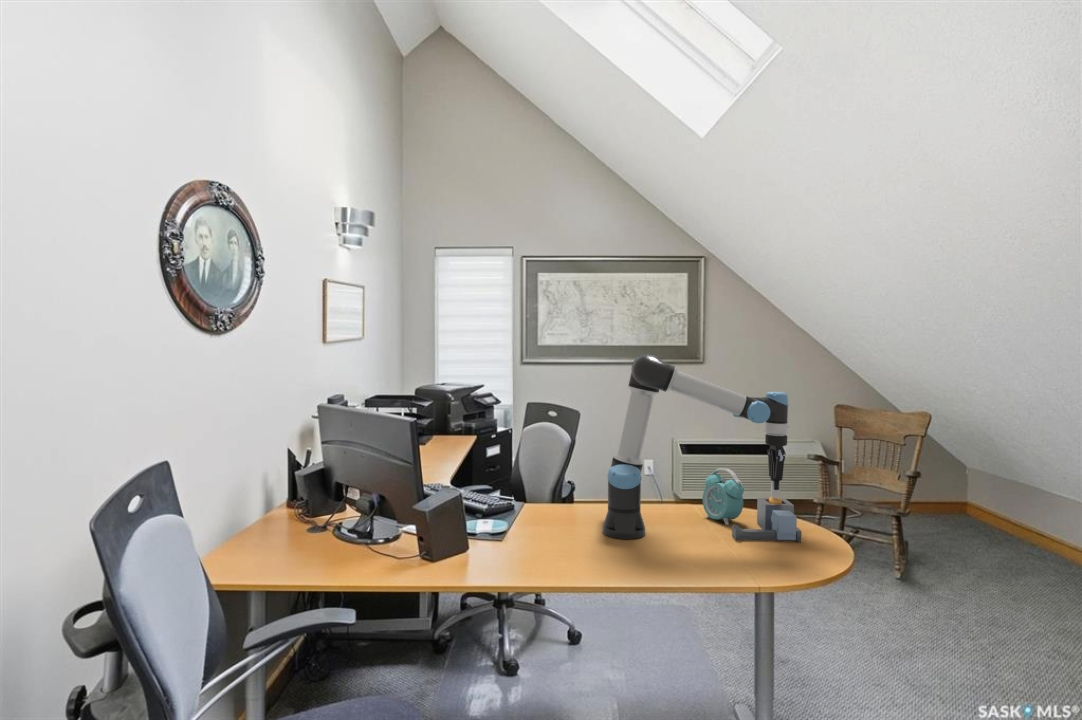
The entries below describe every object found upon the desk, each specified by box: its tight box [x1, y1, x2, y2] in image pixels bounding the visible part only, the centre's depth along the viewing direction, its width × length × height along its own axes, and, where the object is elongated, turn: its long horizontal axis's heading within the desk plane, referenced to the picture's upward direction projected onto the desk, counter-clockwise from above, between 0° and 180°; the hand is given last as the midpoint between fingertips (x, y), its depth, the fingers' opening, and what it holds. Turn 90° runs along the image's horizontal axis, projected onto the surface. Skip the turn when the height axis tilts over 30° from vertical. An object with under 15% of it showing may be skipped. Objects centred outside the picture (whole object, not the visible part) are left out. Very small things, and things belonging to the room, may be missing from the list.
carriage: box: [772, 510, 798, 540], centre depth 207 cm, size 6×7×8 cm
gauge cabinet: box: [756, 497, 795, 530], centre depth 220 cm, size 10×11×10 cm
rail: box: [731, 524, 802, 544], centre depth 207 cm, size 22×5×4 cm, turn 86°
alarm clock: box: [702, 467, 745, 526], centre depth 230 cm, size 17×10×20 cm, turn 25°
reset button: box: [768, 496, 782, 504], centre depth 220 cm, size 4×4×4 cm
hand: (775, 497), depth 220 cm, fingers closed
